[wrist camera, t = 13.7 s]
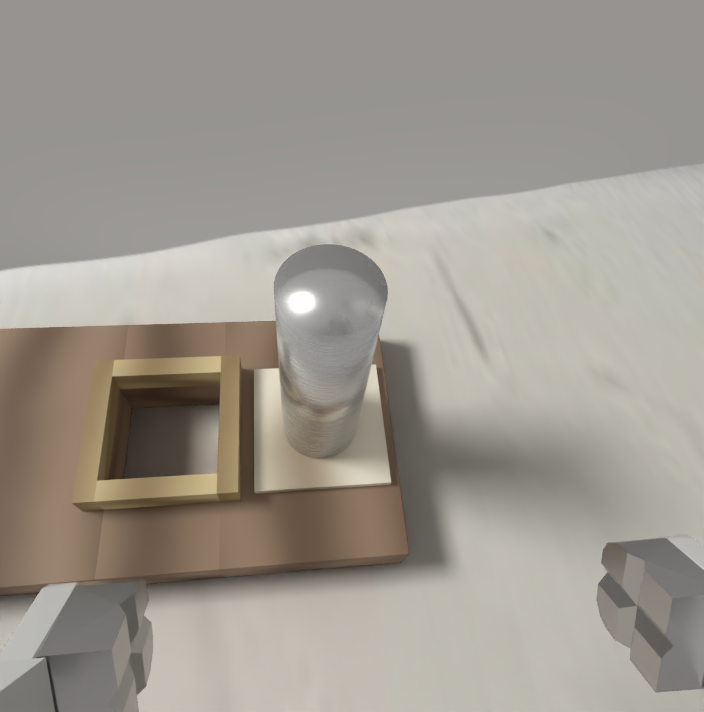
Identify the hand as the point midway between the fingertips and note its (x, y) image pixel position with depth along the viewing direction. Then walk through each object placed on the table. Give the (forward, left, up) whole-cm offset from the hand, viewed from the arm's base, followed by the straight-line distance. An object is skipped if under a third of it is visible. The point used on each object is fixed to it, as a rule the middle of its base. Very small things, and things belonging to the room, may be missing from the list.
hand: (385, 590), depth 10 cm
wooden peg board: (+8, -10, -20) cm, 24 cm away
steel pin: (0, -10, -17) cm, 20 cm away
